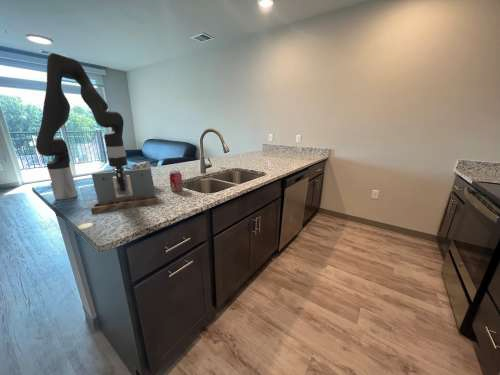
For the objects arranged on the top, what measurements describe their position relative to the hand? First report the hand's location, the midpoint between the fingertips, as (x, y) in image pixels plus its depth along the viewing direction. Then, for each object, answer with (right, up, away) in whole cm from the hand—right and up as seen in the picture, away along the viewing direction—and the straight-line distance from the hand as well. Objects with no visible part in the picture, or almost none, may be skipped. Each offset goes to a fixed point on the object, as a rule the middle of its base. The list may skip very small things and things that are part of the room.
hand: (123, 189), depth 103 cm
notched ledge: (0, -8, +3) cm, 9 cm away
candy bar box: (-6, +1, +32) cm, 33 cm away
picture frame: (0, -3, +1) cm, 3 cm away
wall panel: (-5, -5, +12) cm, 14 cm away
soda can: (+18, -1, +26) cm, 32 cm away
